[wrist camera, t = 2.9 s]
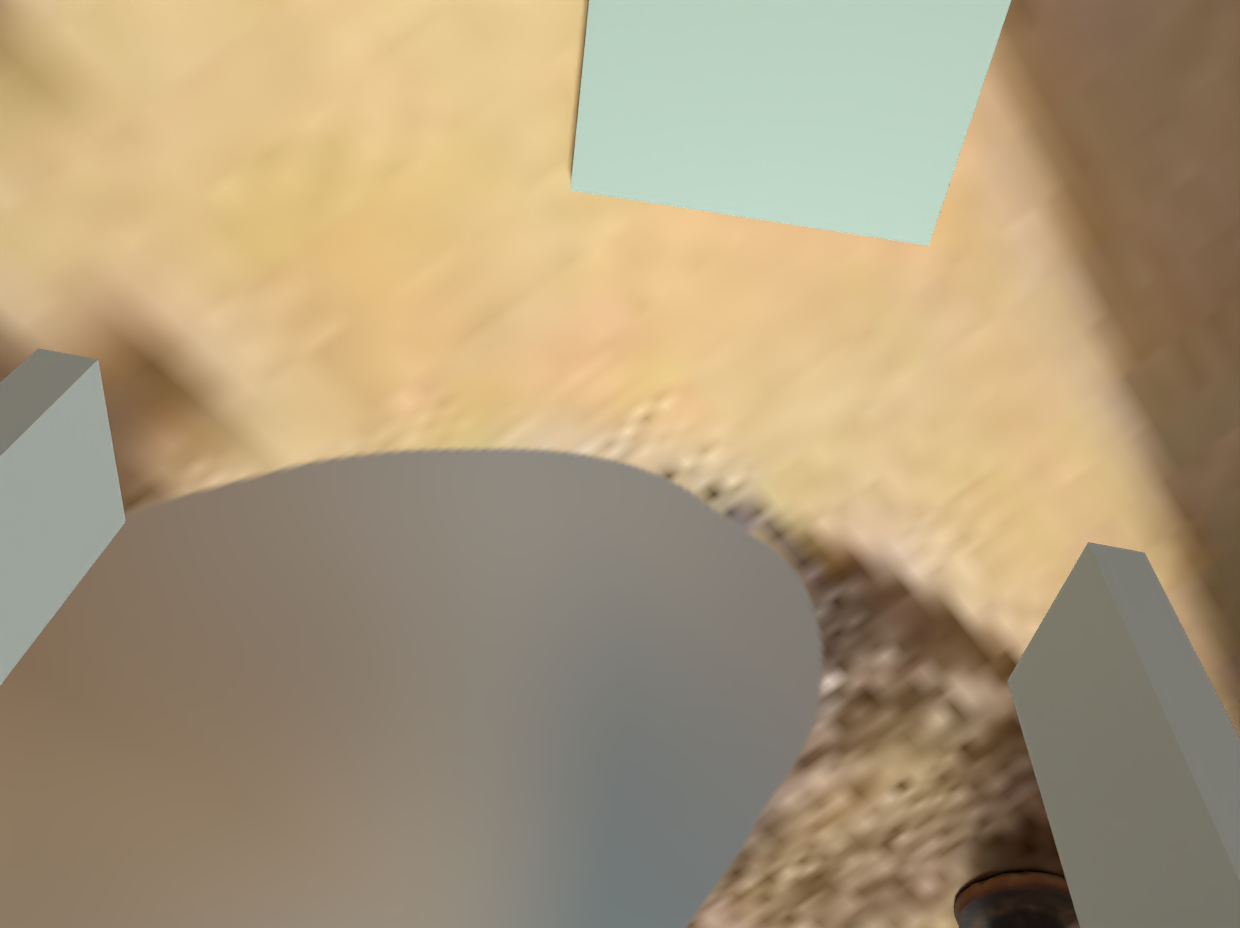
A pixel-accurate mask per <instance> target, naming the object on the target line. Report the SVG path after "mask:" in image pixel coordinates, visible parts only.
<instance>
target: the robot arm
mask: <svg viewBox="0 0 1240 928" xmlns="http://www.w3.org/2000/svg"><path fill="white" fill-rule="evenodd" d="M124 523H125V515H124V509H123V503H122V498H121V492H120V486H119V480H118V474H117V468H116V462H115V456H114V450H113V445H112V439H111V433H110V427H109V421H108V415H107V409H106V403H105V397H104V392H103V386H102V380H101V374H100V368H99V362H98V359H93V358H87V357H82V356H77V355H71V354H66V353H60V352H55V351H49V350H44V349H38V350H36V351H35V352H34V353H33V354H32V355H31V356H30V357H29V358H27V359H26V360H25V361H24V362H23V363H22V364H21V365H20V366H18V367H17V368H16V369H15V370H14V371H13V372H12V373H11V374H9V375H8V376H7V377H6V378H5V379H4V380H3V381H2V382H0V685H1V683H2V682H3V681H4V679H5V678H6V677H7V676H8V674H9V673H10V672H11V670H12V669H13V668H14V667H15V665H16V664H17V663H18V661H19V660H20V659H21V657H22V656H23V655H24V653H25V652H26V651H27V650H28V648H29V647H30V646H31V644H32V643H33V642H34V640H35V639H36V638H37V637H38V635H39V634H40V633H41V631H42V630H43V628H44V627H45V626H46V625H47V624H48V622H49V621H50V620H51V618H52V617H53V616H54V614H55V613H56V612H57V610H58V609H59V608H60V607H61V605H62V604H63V602H64V601H65V600H66V599H67V597H68V596H69V595H70V594H71V592H72V591H73V589H74V588H75V587H76V586H77V584H78V583H79V582H80V580H81V579H82V578H83V577H84V575H85V574H86V573H87V571H88V570H89V568H90V567H91V566H92V565H93V564H94V562H95V561H96V560H97V558H98V557H99V556H100V554H101V553H102V552H103V550H104V549H105V548H106V547H107V545H108V544H109V543H110V541H111V540H112V539H113V537H114V536H115V535H116V533H117V532H118V531H119V530H120V528H121V527H122V526H123V524H124ZM1007 682H1008V685H1009V688H1010V692H1011V695H1012V699H1013V702H1014V705H1015V709H1016V712H1017V716H1018V719H1019V722H1020V726H1021V729H1022V732H1023V736H1024V739H1025V743H1026V746H1027V749H1028V753H1029V756H1030V760H1031V763H1032V766H1033V770H1034V773H1035V777H1036V780H1037V783H1038V787H1039V790H1040V793H1041V797H1042V800H1043V804H1044V807H1045V810H1046V814H1047V817H1048V821H1049V824H1050V827H1051V831H1052V834H1053V838H1054V841H1055V844H1056V848H1057V851H1058V854H1059V858H1060V861H1061V865H1062V868H1063V871H1064V875H1065V878H1066V882H1067V885H1068V888H1069V892H1070V895H1071V898H1072V902H1073V905H1074V909H1075V912H1076V915H1077V919H1078V922H1079V926H1080V928H1240V739H1239V737H1238V735H1237V733H1236V731H1235V729H1234V727H1233V725H1232V723H1231V721H1230V719H1229V717H1228V715H1227V713H1226V711H1225V709H1224V708H1223V706H1222V704H1221V702H1220V700H1219V698H1218V696H1217V694H1216V692H1215V690H1214V688H1213V686H1212V684H1211V682H1210V680H1209V678H1208V676H1207V674H1206V672H1205V670H1204V668H1203V666H1202V664H1201V662H1200V660H1199V658H1198V656H1197V655H1196V653H1195V651H1194V649H1193V647H1192V645H1191V643H1190V641H1189V639H1188V637H1187V635H1186V633H1185V631H1184V629H1183V627H1182V625H1181V623H1180V621H1179V619H1178V617H1177V615H1176V613H1175V611H1174V609H1173V607H1172V605H1171V604H1170V602H1169V600H1168V598H1167V596H1166V594H1165V592H1164V590H1163V588H1162V586H1161V584H1160V582H1159V580H1158V578H1157V576H1156V574H1155V572H1154V570H1153V568H1152V566H1151V564H1150V562H1149V560H1148V558H1147V556H1146V554H1145V553H1143V552H1138V551H1133V550H1127V549H1122V548H1116V547H1111V546H1106V545H1100V544H1095V543H1089V542H1088V544H1087V545H1086V547H1085V549H1084V551H1083V552H1082V554H1081V556H1080V557H1079V559H1078V561H1077V563H1076V564H1075V566H1074V568H1073V569H1072V571H1071V573H1070V575H1069V576H1068V578H1067V580H1066V581H1065V583H1064V585H1063V587H1062V588H1061V590H1060V592H1059V593H1058V595H1057V597H1056V599H1055V600H1054V602H1053V604H1052V605H1051V607H1050V609H1049V610H1048V612H1047V614H1046V616H1045V617H1044V619H1043V621H1042V622H1041V624H1040V626H1039V628H1038V629H1037V631H1036V633H1035V634H1034V636H1033V638H1032V640H1031V641H1030V643H1029V645H1028V646H1027V648H1026V650H1025V652H1024V653H1023V655H1022V657H1021V658H1020V660H1019V662H1018V664H1017V665H1016V667H1015V669H1014V670H1013V672H1012V674H1011V676H1010V677H1009V679H1008V681H1007Z"/></svg>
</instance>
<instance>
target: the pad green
mask: <svg viewBox="0 0 1240 928" xmlns="http://www.w3.org/2000/svg"><path fill="white" fill-rule="evenodd" d="M1010 2H1011V0H589V8H588V18H587V28H586V38H585V48H584V58H583V68H582V78H581V88H580V98H579V108H578V118H577V128H576V138H575V149H574V159H573V169H572V179H571V189H570V190H572V191H578V192H585V193H591V194H598V195H604V196H611V197H617V198H624V199H630V200H637V201H643V202H649V203H656V204H662V205H669V206H675V207H682V208H688V209H695V210H701V211H708V212H714V213H721V214H727V215H734V216H740V217H747V218H753V219H759V220H766V221H772V222H779V223H785V224H792V225H798V226H805V227H811V228H818V229H824V230H831V231H837V232H844V233H850V234H857V235H863V236H869V237H876V238H882V239H889V240H895V241H902V242H908V243H915V244H921V245H928V246H929V243H930V240H931V237H932V234H933V231H934V228H935V225H936V222H937V219H938V216H939V213H940V210H941V207H942V204H943V201H944V198H945V195H946V192H947V189H948V186H949V183H950V180H951V177H952V175H953V172H954V169H955V166H956V163H957V160H958V157H959V154H960V151H961V148H962V145H963V142H964V139H965V136H966V133H967V130H968V127H969V124H970V121H971V118H972V115H973V112H974V109H975V106H976V103H977V100H978V97H979V94H980V91H981V88H982V85H983V82H984V79H985V76H986V73H987V71H988V68H989V65H990V62H991V59H992V56H993V53H994V50H995V47H996V44H997V41H998V38H999V35H1000V32H1001V29H1002V26H1003V23H1004V20H1005V17H1006V14H1007V11H1008V8H1009V5H1010Z"/></svg>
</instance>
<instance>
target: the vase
mask: <svg viewBox="0 0 1240 928" xmlns="http://www.w3.org/2000/svg"><path fill="white" fill-rule="evenodd" d="M954 915H955V918H956V920H957V923H958V925H959V928H1080V926H1079V922H1078V919H1077V915H1076V912H1075V909H1074V905H1073V902H1072V898H1071V895H1070V892H1069V888H1068V885H1067V882H1066V879H1065V878H1063V877H1061V876H1059V875H1054V874H1049V873H1042V872H1028V871H1025V872H1020V873H1004V874H999V875H996V876H994V877H992V878H989V879H987V880H984V881H980V882H976V883H973V884H972V885H971V886H969V887H968V888H967V889H965V890H964V891H963V892H961V893H960V895H959V897H958V898H957V900H956V902H955V907H954Z"/></svg>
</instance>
